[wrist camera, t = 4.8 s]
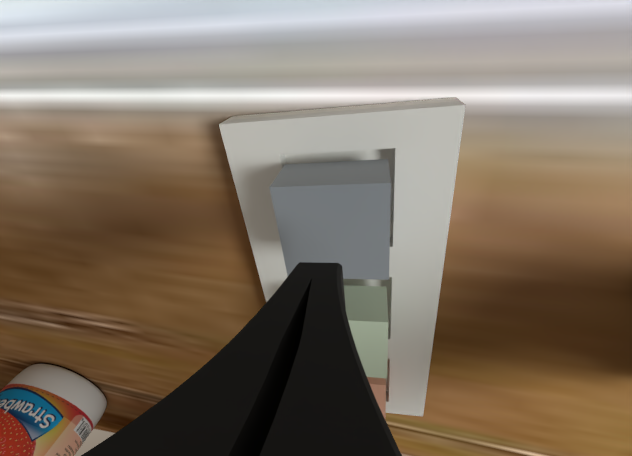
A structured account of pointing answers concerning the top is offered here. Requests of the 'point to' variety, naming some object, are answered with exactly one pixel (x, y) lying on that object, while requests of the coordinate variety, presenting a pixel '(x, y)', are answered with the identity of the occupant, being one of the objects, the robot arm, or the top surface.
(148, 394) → the top surface
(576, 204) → the top surface
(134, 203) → the top surface
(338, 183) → the key slate
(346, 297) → the key sage
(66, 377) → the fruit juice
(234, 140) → the keypad
